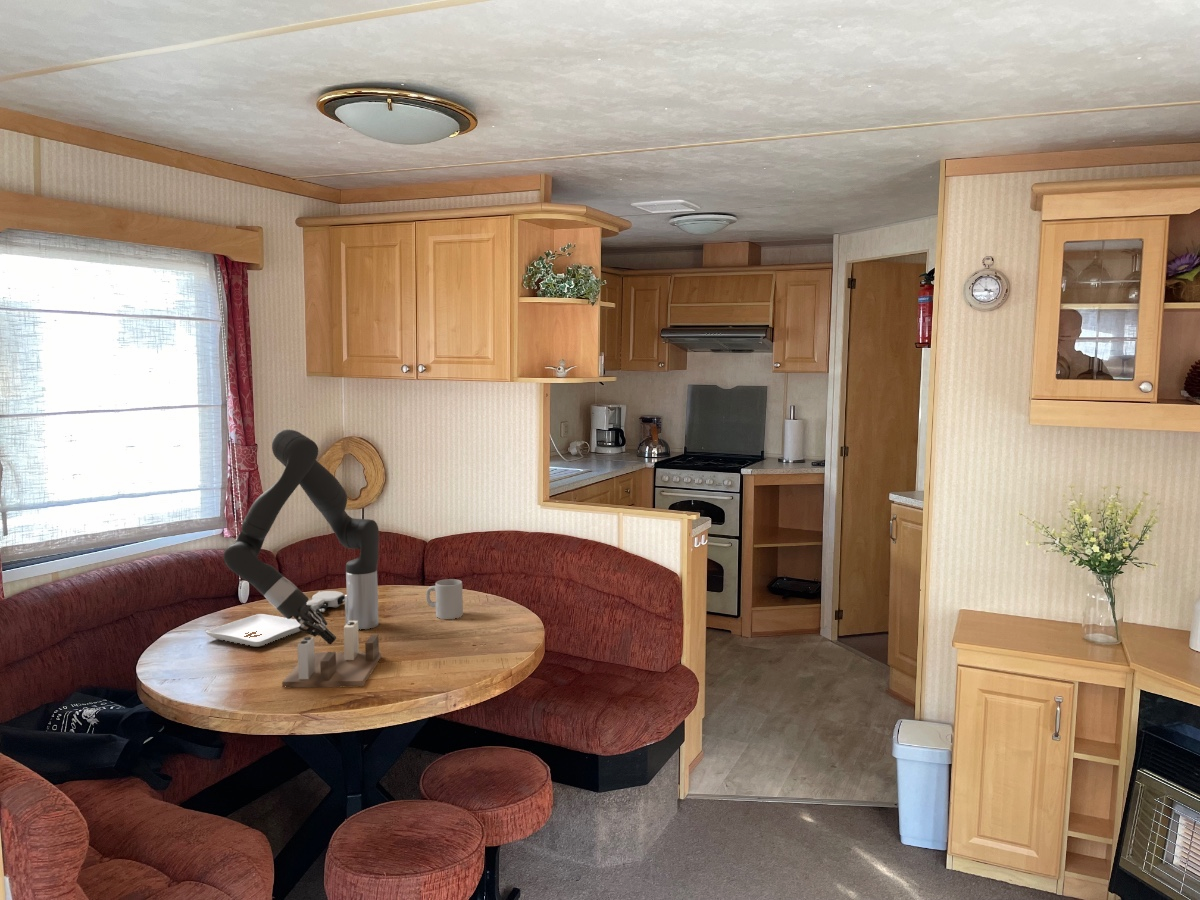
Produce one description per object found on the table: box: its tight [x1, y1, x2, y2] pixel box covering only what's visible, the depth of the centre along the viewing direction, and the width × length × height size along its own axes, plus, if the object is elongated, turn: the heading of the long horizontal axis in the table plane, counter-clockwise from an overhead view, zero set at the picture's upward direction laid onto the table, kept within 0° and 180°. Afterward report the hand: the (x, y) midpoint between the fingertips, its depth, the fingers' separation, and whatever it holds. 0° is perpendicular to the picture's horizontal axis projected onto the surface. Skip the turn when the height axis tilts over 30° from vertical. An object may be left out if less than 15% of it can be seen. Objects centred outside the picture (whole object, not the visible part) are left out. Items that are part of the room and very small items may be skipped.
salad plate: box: [205, 613, 302, 648], centre depth 265 cm, size 21×21×3 cm
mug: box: [425, 578, 464, 620], centre depth 285 cm, size 12×8×11 cm
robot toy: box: [306, 590, 346, 613], centre depth 293 cm, size 12×4×15 cm
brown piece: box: [281, 634, 382, 688], centre depth 235 cm, size 20×22×6 cm
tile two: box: [297, 636, 316, 679], centre depth 228 cm, size 2×6×9 cm, turn 2°
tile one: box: [343, 621, 360, 660], centre depth 242 cm, size 2×6×9 cm, turn 2°
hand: (333, 641), depth 242 cm, fingers closed
